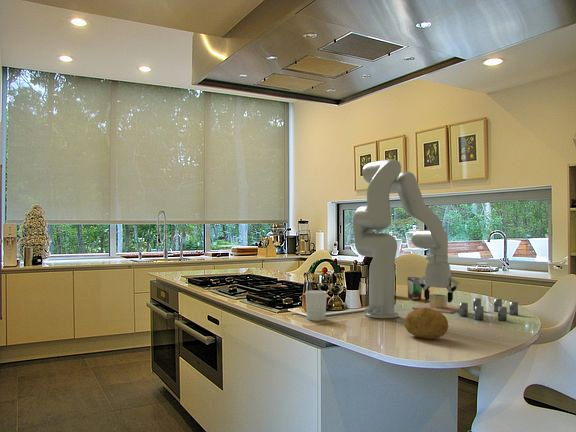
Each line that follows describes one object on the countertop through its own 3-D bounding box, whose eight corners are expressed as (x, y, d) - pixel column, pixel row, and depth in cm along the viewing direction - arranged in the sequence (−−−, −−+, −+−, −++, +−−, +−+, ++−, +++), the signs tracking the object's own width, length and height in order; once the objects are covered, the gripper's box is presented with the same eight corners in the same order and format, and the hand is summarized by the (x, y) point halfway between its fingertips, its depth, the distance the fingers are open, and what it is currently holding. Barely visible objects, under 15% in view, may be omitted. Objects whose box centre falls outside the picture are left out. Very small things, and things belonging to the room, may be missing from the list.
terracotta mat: (450, 313, 188) (450, 312, 188) (412, 308, 198) (412, 307, 198) (464, 308, 200) (464, 307, 200) (427, 304, 210) (427, 302, 210)
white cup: (329, 318, 176) (329, 291, 176) (322, 322, 169) (322, 293, 169) (310, 316, 179) (310, 289, 179) (301, 320, 172) (302, 292, 172)
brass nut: (442, 309, 195) (442, 296, 195) (428, 307, 198) (428, 295, 198) (448, 306, 200) (448, 294, 200) (434, 305, 204) (434, 293, 204)
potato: (415, 303, 154) (400, 304, 147) (455, 311, 144) (441, 311, 138) (412, 333, 153) (397, 334, 146) (452, 342, 144) (438, 344, 137)
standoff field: (502, 323, 169) (502, 309, 169) (454, 317, 179) (454, 304, 179) (521, 313, 189) (521, 300, 190) (477, 308, 200) (477, 296, 200)
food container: (426, 301, 219) (426, 279, 219) (413, 301, 219) (413, 279, 219) (419, 297, 231) (420, 276, 232) (407, 297, 231) (407, 276, 232)
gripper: (415, 259, 202) (415, 299, 202) (455, 261, 191) (455, 304, 191) (422, 258, 208) (422, 297, 208) (462, 260, 197) (462, 301, 197)
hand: (438, 300), depth 199 cm, fingers open, 9 cm apart
